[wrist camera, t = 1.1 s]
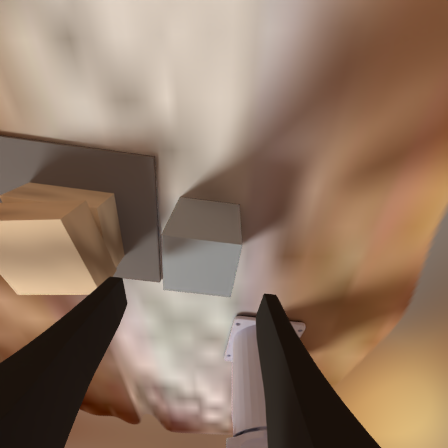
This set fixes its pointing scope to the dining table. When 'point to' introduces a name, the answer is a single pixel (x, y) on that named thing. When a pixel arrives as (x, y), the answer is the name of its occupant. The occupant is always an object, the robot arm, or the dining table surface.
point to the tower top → (52, 248)
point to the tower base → (97, 201)
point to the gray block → (201, 247)
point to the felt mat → (96, 181)
